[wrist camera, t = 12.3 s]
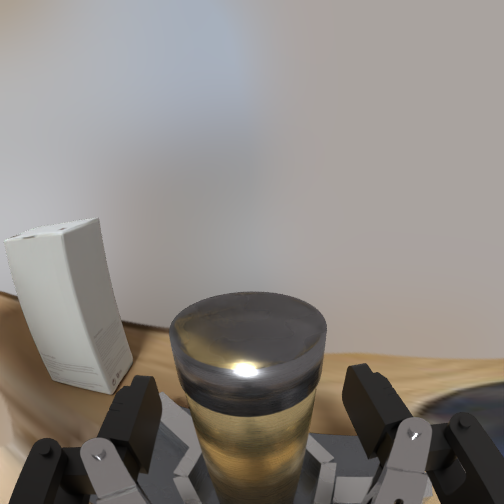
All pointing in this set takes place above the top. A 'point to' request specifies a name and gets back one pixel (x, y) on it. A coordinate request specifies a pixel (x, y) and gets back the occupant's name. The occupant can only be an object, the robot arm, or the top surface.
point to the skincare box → (70, 303)
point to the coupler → (250, 389)
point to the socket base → (200, 485)
